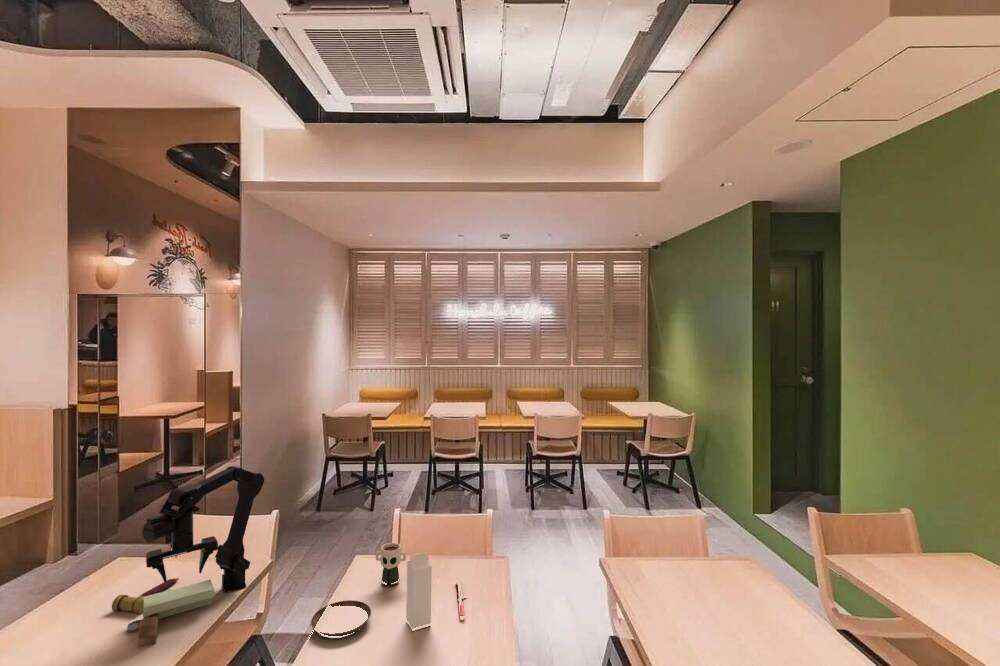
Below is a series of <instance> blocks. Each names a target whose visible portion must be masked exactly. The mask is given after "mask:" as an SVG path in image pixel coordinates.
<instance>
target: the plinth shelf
mask: <svg viewBox="0 0 1000 666" xmlns="http://www.w3.org/2000/svg"><path fill="white" fill-rule="evenodd" d="M214 597H215V588H214V585H213V582H212V579H211V578H210V579H206V580H203V581H200V582H194V583H191V584H188V585H183V586H180V587H177V588H173V589H167V590H164V591H162V592H160V593H156V594H153V595H149V596H145V597H143V613H142V619H146V618H149V617H150V615H151V614H154V613H158V620H159V619H163V618H167V617H169V616H174V615H176V614H180V613H184V612H187V611H190V610H194V609H197V608H201V607H205V606H208V605H211V604H212V598H214Z"/></svg>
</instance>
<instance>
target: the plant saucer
mask: <svg viewBox="0 0 1000 666" xmlns="http://www.w3.org/2000/svg"><path fill="white" fill-rule="evenodd" d="M328 605H329V606H330V605H331V606H332V607H334V606H339V605H340V606H356V607H360V608H362V609H363V610H365V611H366V612H367V614H368V619H367V620H366V621H365V622H364V623H363V624H362V625H360V626H359V627H357V628H355V629H353V630H350V631H347V632H343V633H335V634H329V633H322V632H320V633H322V634H324V635H328V636H343V635H347V634H351V633H353V632H356V631H358V630H359V629H361V628H362V627H363V626H364V627H365V625H366V624H367V623H368V621H369V620H370V618H371V616H372V609H371V606H369V604H367V603H366V602H363V601H359V600H347V599H346V600H341V601H336V602H332V603H329V604H327V605H325V606H323V607H322V608H320V609H318V610H317V611H316V612H315V613H314V614H313V615H312V617H311V620H310V625H311V628H312V629H313V630H314V628H315V626H316V624H317V622H318V621H319V619H320V617H321V616H322V614H323V612H324V611H325V609H326V607H327V606H328ZM364 627H363V628H364ZM363 628H362V629H363ZM362 629H361V630H362ZM359 631H360V630H359ZM359 631H358V632H359Z"/></svg>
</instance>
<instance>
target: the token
mask: <svg viewBox="0 0 1000 666" xmlns="http://www.w3.org/2000/svg"><path fill="white" fill-rule="evenodd" d="M140 621H141V619H136V620H134V621H132V622H130V623H128V624H127V633H133V634H134V633H137V632H138V629H139V624H140Z"/></svg>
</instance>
